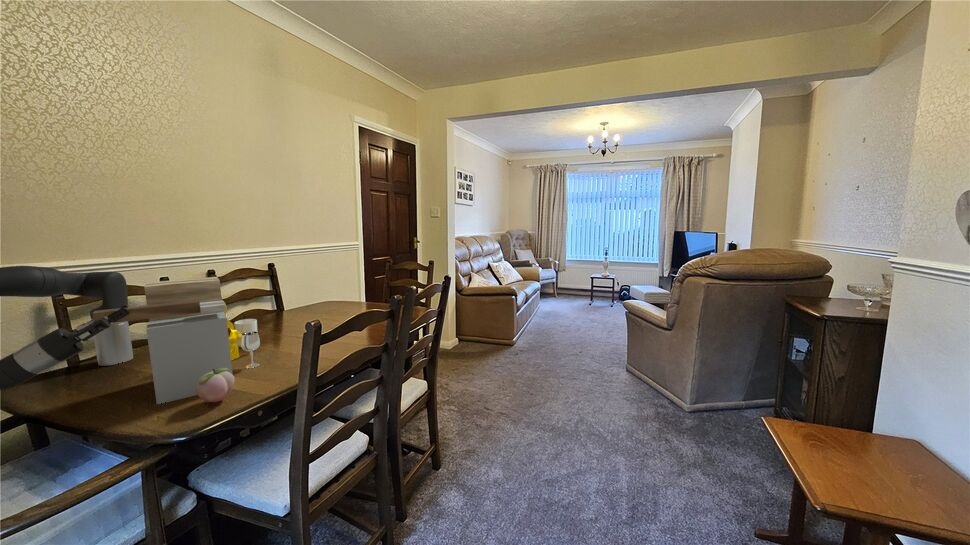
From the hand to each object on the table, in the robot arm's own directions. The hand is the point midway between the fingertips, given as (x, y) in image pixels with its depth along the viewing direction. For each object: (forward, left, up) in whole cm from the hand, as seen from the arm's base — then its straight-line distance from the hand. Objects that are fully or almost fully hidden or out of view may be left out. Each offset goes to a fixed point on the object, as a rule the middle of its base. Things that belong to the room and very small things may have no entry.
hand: (127, 309), depth 100 cm
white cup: (-39, +31, -27) cm, 56 cm away
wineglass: (-11, +29, -27) cm, 41 cm away
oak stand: (-13, +13, -27) cm, 33 cm away
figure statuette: (-25, +22, -27) cm, 43 cm away
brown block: (0, +8, -3) cm, 8 cm away
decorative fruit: (+13, +16, -27) cm, 35 cm away
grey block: (0, +13, -27) cm, 30 cm away
